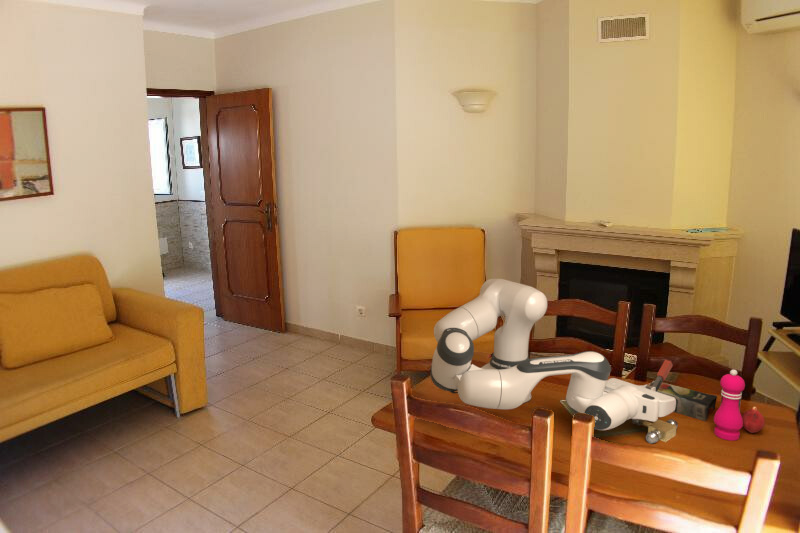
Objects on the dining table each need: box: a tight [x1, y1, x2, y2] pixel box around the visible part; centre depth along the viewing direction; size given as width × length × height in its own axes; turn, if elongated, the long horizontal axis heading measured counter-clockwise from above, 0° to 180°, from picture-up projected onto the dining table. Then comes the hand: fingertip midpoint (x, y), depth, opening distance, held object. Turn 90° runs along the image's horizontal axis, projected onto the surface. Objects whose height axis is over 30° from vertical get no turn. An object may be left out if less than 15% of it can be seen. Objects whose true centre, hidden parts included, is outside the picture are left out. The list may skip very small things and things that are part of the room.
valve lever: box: [631, 359, 674, 427], centre depth 173 cm, size 2×2×23 cm
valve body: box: [640, 418, 679, 444], centre depth 165 cm, size 9×14×3 cm, turn 129°
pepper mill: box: [713, 369, 746, 442], centre depth 161 cm, size 7×7×20 cm
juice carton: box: [648, 380, 718, 422], centre depth 181 cm, size 20×10×6 cm, turn 47°
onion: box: [741, 406, 766, 434], centre depth 164 cm, size 6×6×8 cm
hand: (651, 388), depth 172 cm, fingers closed
